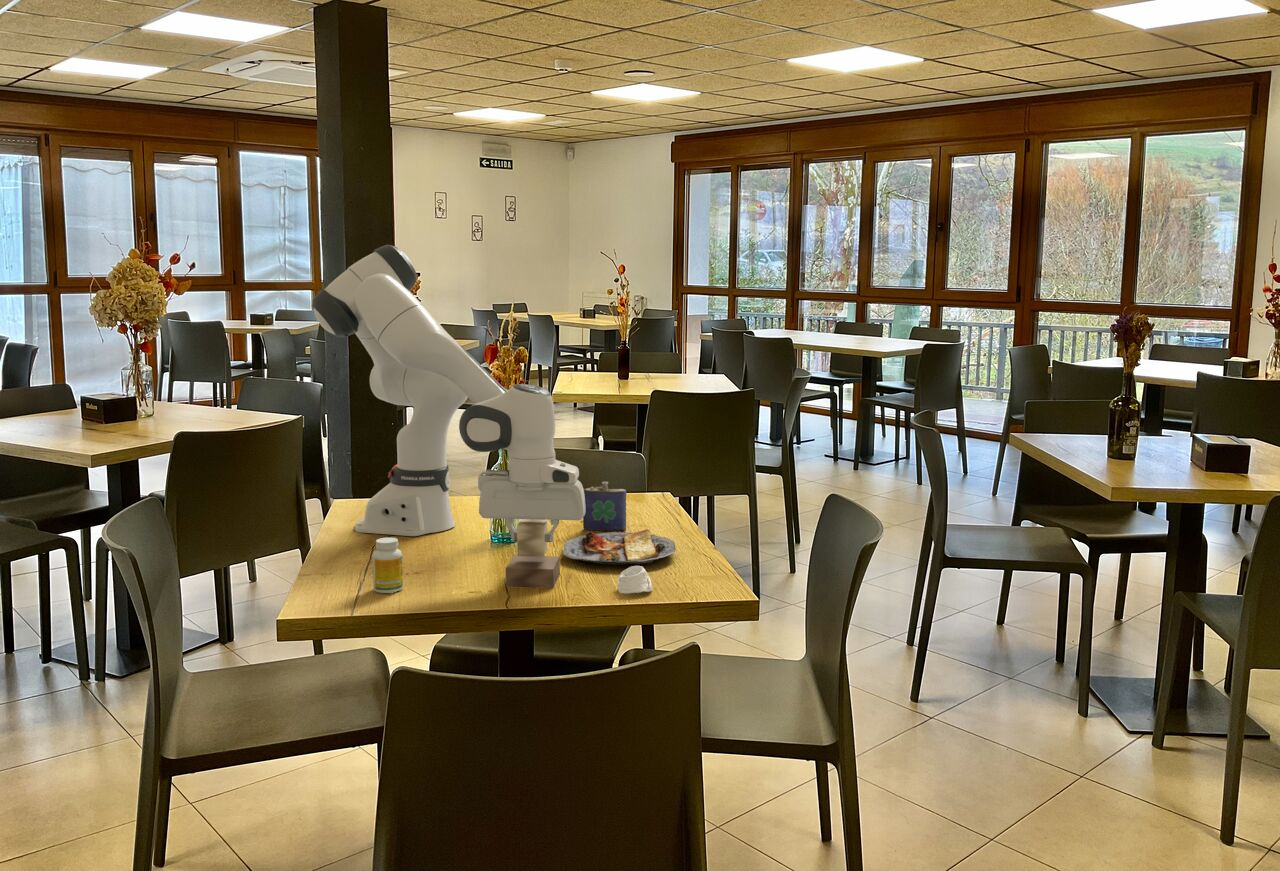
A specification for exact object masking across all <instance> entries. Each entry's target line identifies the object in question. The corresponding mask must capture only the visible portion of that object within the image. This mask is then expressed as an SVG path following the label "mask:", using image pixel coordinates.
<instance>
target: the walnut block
mask: <svg viewBox="0 0 1280 871" xmlns="http://www.w3.org/2000/svg"><path fill="white" fill-rule="evenodd" d="M560 560H561V558H560V556H558V555H557V556H556V555H555V556H553V555H552V556H551V555H549V556H547V555H544V557H527V556H517V555H513V556H512V558H511V559H510V562H509V563H508V564H507V565H506V567H505V588H519V589H520V588H523V589H524V588H525V589H554V588H555V586H556V584H557V582H558V579H559V578H560V575H561V574H560V573H561V570H560V569H561V567H560V566H561V564H560V563H561V562H560ZM556 581H557V582H556Z"/></svg>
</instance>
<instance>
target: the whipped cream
mask: <svg viewBox="0 0 1280 871" xmlns="http://www.w3.org/2000/svg"><path fill="white" fill-rule="evenodd" d="M617 591H618V592H619V593H620V594H625V595H628V594H635V593H636V594H639V593H643V592H647V593H649V592H652V591H653V584H652V580H651V577H650V576H649V574H648V572H647V571H646V569H645V568H644V566H642V565H641V566H640V565H633V566H632V565H631V566H629V567H628V568H626V569H624V570H623V571H622V572H620V574H619V575H618V579H617Z"/></svg>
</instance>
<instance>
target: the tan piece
mask: <svg viewBox="0 0 1280 871" xmlns="http://www.w3.org/2000/svg"><path fill="white" fill-rule="evenodd" d="M516 531H517V541H516V542H517V545H516V549H517V555H516V556H527V557H544V556H546V554H547V551H548V544H549V542H545V533H546V531H548V520H539V519H520V521H519V522H518V523H517V525H516Z"/></svg>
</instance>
